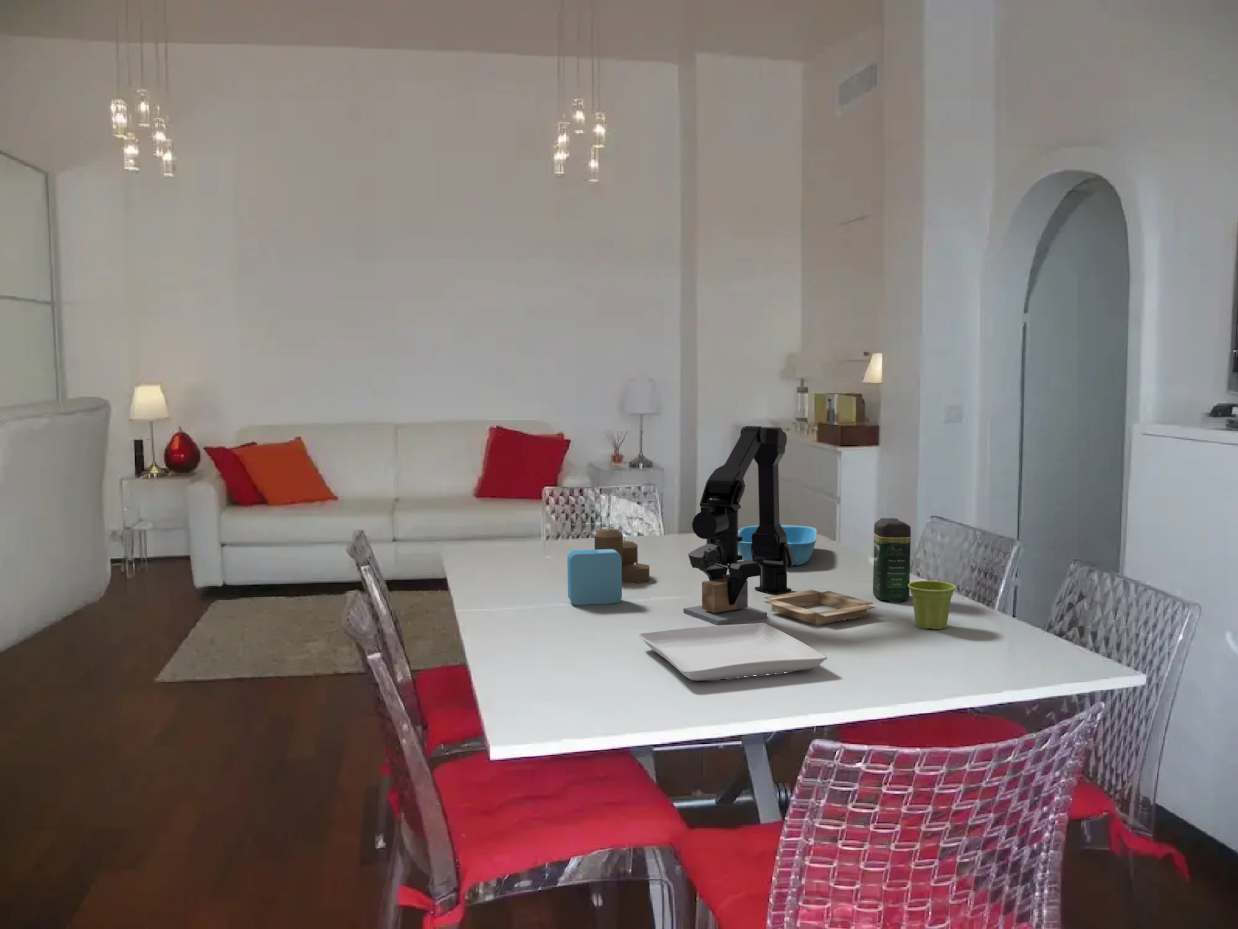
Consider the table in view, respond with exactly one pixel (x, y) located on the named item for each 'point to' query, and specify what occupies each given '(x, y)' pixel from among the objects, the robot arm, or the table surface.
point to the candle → (623, 554)
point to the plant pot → (931, 603)
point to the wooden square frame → (846, 604)
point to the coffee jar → (891, 560)
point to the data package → (594, 576)
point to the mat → (725, 615)
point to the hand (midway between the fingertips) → (725, 602)
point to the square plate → (732, 651)
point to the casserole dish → (797, 539)
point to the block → (721, 596)
